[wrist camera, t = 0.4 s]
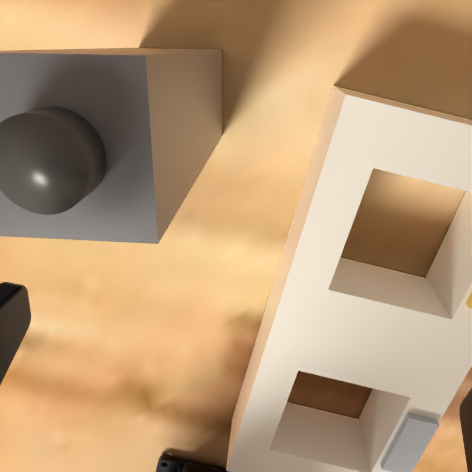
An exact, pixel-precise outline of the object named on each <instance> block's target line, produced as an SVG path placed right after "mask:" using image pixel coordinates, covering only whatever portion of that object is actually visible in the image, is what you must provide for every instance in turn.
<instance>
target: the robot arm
mask: <svg viewBox="0 0 472 472" xmlns="http://www.w3.org/2000/svg"><path fill="white" fill-rule="evenodd" d="M30 321H31V311H30V304H29V297H28V291H27V288H26V287H25V286H23V285H19V284H14V283H9V282H3V283H0V385H1V383H2V381H3V379H4V377H5V375H6V372H7V370H8V368H9V366H10V364H11V362H12V360H13V358H14V356H15V354H16V352H17V350H18V348H19V346H20V344H21V342H22V340H23V338H24V336H25V334H26V332H27V330H28V328H29V325H30ZM460 421H461V428H462V435H463V441H464V448H465V455H466V462H467V469H468V472H472V388H471V390H470V391H469V392H468V394H467V395H466V396H465V398H464V399H463V401H462V402H461V405H460ZM156 472H229V471H226V469H224V468H219V467H215V466H211V465H207V464H202V463H198V462H194V461H190V460H185V459H181V458H177V457H173V456H168V455H162V456H160V458H159V461H158V465H157V469H156Z"/></svg>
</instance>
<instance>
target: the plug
mask: <svg viewBox="0 0 472 472" xmlns="http://www.w3.org/2000/svg"><path fill="white" fill-rule="evenodd" d="M221 137H222V49H178V48H111V49H65V50H19V51H0V236H10V237H31V238H51V239H72V240H92V241H113V242H134V243H154V244H158V243H159V241H160V239H161V238H162V236H163V234H164V233H165V231H166V229H167V228H168V226H169V224H170V223H171V221H172V219H173V218H174V216H175V214H176V213H177V211H178V209H179V208H180V206H181V204H182V203H183V201H184V199H185V198H186V196H187V194H188V192H189V191H190V189H191V187H192V186H193V184H194V182H195V181H196V179H197V177H198V176H199V174H200V172H201V171H202V169H203V167H204V166H205V164H206V162H207V161H208V159H209V157H210V156H211V154H212V152H213V151H214V149H215V147H216V145H217V144H218V142H219V140H220V139H221Z"/></svg>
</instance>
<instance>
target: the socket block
mask: <svg viewBox="0 0 472 472" xmlns="http://www.w3.org/2000/svg"><path fill="white" fill-rule="evenodd" d="M373 168H375V169H379V170H383V171H387V172H391V173H395V174H399V175H403V176H408V177H412V178H416V179H420V180H424V181H428V182H432V183H436V184H440V185H444V186H448V187H452V188H456V189H460V190H465V191H466V193H465V195H464V197H463V199H462V201H461V204H460V206H459V208H458V210H457V212H456V214H455V216H454V218H453V220H452V223H451V225H450V227H449V229H448V231H447V233H446V235H445V237H444V239H443V242H442V244H441V246H440V248H439V250H438V252H437V254H436V256H435V258H434V261H433V263H432V265H431V267H430V269H429V271H428V273H427V275H426V277H425V278H424V277H420V276H416V275H411V274H407V273H403V272H399V271H395V270H391V269H387V268H383V267H379V266H374V265H370V264H366V263H362V262H358V261H354V260H350V259H346V258H341V254H342V251H343V248H344V246H345V243H346V240H347V238H348V235H349V232H350V229H351V227H352V224H353V221H354V219H355V216H356V213H357V210H358V208H359V205H360V202H361V200H362V197H363V194H364V192H365V189H366V186H367V183H368V181H369V178H370V175H371V173H372V170H373ZM471 366H472V120H470V119H466V118H462V117H458V116H454V115H450V114H446V113H442V112H438V111H434V110H430V109H426V108H422V107H418V106H414V105H410V104H406V103H402V102H398V101H394V100H390V99H386V98H382V97H378V96H374V95H369V94H365V93H361V92H357V91H353V90H349V89H345V88H341V87H337V86H333V88H332V92H331V95H330V98H329V102H328V105H327V108H326V112H325V115H324V118H323V121H322V125H321V128H320V131H319V135H318V138H317V141H316V144H315V148H314V151H313V154H312V158H311V161H310V164H309V167H308V171H307V174H306V177H305V181H304V184H303V187H302V190H301V194H300V197H299V200H298V204H297V207H296V210H295V213H294V217H293V220H292V223H291V227H290V230H289V233H288V236H287V240H286V243H285V246H284V250H283V253H282V256H281V259H280V263H279V266H278V269H277V273H276V276H275V279H274V282H273V286H272V289H271V292H270V296H269V299H268V302H267V305H266V309H265V312H264V315H263V319H262V322H261V325H260V328H259V332H258V335H257V338H256V342H255V345H254V348H253V351H252V355H251V358H250V361H249V365H248V368H247V371H246V374H245V378H244V381H243V384H242V388H241V391H240V394H239V397H238V401H237V404H236V407H235V411H234V414H233V417H232V424H231V433H230V441H229V450H228V458H227V466H226V471H229V472H412V471H413V469H414V467H415V466H416V464H417V462H418V460H419V459H420V457H421V455H422V454H423V452H424V450H425V449H426V447H427V445H428V443H429V442H430V440H431V438H432V437H433V435H434V433H435V431H436V430H437V428H438V426H439V424H438V423H439V421H440V420H441V418H442V416H443V414H444V413H445V411H446V409H447V408H448V406H449V404H450V402H451V401H452V399H453V397H454V396H455V394H456V392H457V390H458V389H459V387H460V385H461V384H462V382H463V380H464V378H465V377H466V375H467V373H468V372H469V370H470V368H471ZM298 371H302V372H307V373H311V374H315V375H319V376H323V377H327V378H332V379H336V380H340V381H344V382H348V383H353V384H357V385H361V386H365V387H369V388H373V389H372V392H371V394H370V396H369V398H368V400H367V402H366V404H365V406H364V408H363V411H362V413H361V415H360V417H359V419H357V418H352V417H348V416H344V415H340V414H335V413H331V412H327V411H323V410H319V409H314V408H310V407H306V406H302V405H298V404H293V403H289V402H287V400H288V397H289V395H290V392H291V389H292V387H293V384H294V381H295V378H296V376H297V373H298Z"/></svg>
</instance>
